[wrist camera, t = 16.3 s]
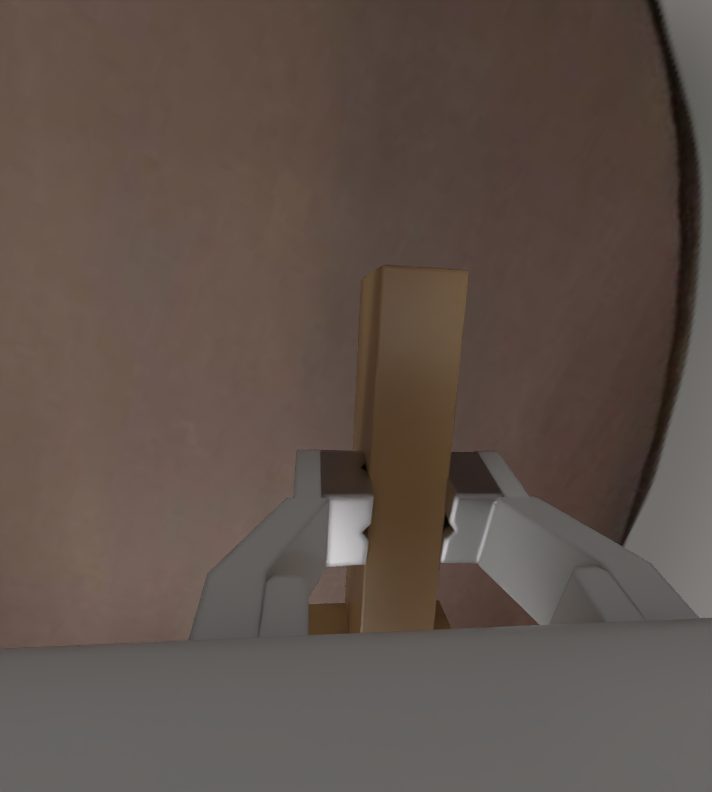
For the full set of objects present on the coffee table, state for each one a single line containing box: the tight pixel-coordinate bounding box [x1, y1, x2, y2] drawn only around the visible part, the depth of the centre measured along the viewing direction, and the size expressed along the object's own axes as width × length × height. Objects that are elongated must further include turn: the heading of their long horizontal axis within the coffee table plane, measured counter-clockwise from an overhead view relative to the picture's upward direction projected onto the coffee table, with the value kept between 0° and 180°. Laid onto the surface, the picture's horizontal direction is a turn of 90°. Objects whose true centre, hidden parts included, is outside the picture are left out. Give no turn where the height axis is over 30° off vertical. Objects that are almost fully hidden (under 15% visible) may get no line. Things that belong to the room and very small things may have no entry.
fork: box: [308, 265, 469, 635], centre depth 10 cm, size 4×18×3 cm, turn 175°
